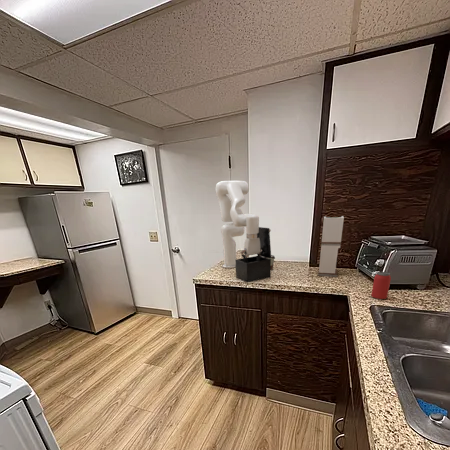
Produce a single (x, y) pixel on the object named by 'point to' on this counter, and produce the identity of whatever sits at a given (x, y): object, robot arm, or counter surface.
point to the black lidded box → (253, 269)
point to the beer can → (381, 285)
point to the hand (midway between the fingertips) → (252, 263)
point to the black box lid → (265, 241)
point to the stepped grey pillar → (330, 245)
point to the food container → (271, 261)
